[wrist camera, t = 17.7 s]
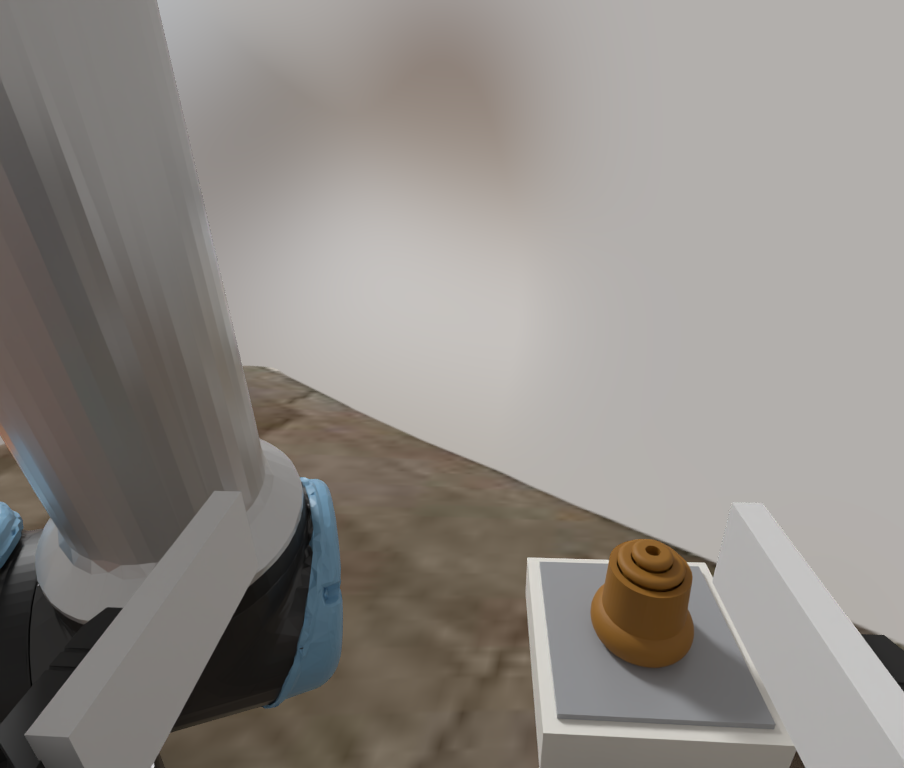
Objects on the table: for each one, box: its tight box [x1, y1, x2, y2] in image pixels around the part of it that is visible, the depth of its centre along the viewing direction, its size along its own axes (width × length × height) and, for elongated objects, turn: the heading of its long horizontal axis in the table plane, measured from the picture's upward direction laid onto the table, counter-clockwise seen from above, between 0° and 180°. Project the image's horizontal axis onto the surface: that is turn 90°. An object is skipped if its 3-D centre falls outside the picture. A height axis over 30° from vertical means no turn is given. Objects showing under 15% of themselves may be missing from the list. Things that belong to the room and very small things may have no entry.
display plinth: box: [526, 558, 796, 768], centre depth 42 cm, size 16×16×5 cm
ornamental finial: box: [590, 539, 694, 668], centre depth 39 cm, size 8×8×8 cm
